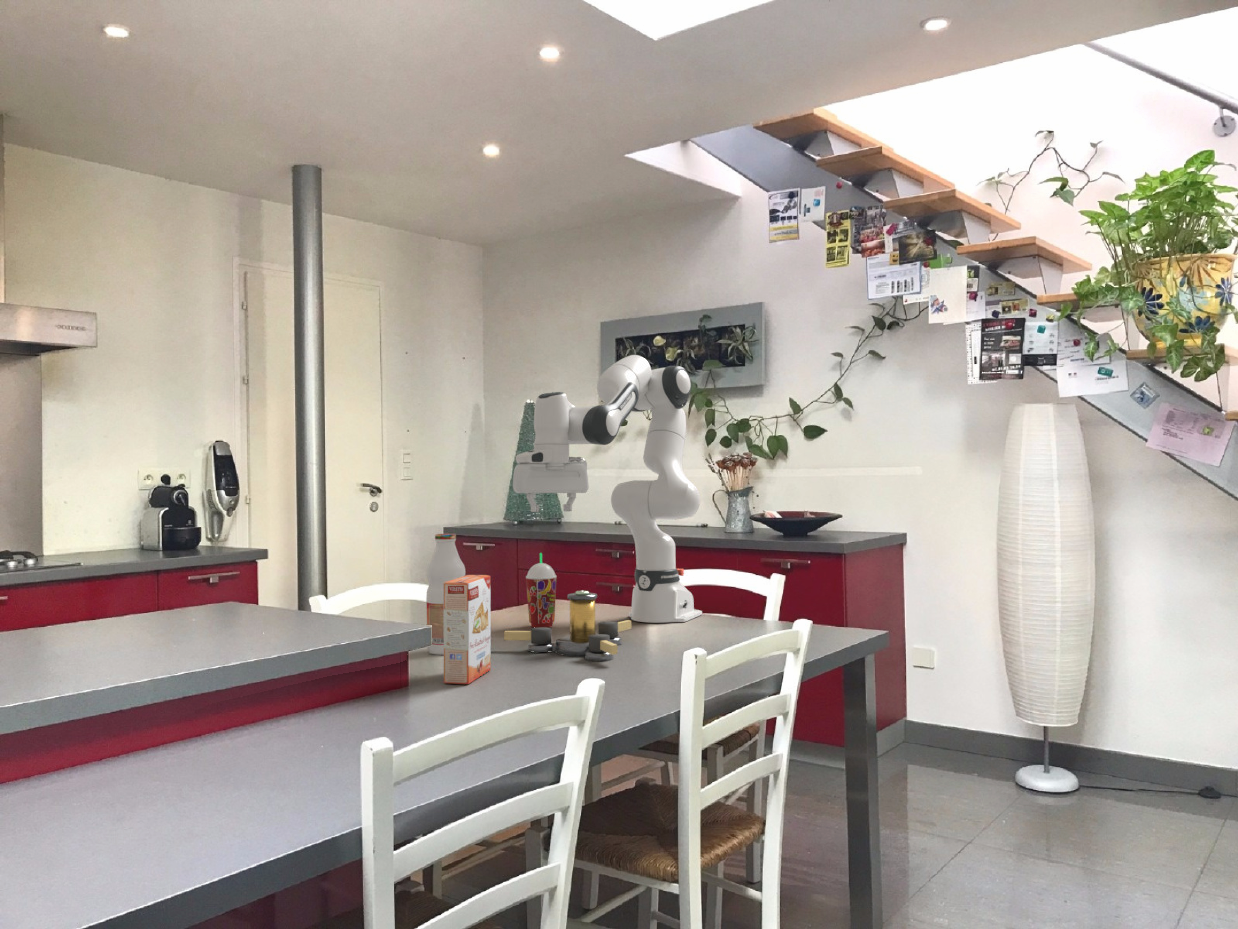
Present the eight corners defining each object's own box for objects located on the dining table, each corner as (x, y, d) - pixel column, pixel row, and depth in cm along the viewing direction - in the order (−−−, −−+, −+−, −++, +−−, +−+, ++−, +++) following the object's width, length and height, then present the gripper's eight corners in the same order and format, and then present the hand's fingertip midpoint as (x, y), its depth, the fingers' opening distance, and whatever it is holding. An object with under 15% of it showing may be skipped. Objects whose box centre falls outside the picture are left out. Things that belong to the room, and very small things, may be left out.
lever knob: (610, 638, 238) (610, 625, 238) (594, 636, 241) (594, 623, 241) (636, 631, 247) (636, 618, 247) (621, 629, 250) (621, 617, 250)
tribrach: (578, 637, 251) (577, 580, 251) (655, 646, 237) (655, 587, 237) (522, 651, 234) (521, 590, 234) (602, 662, 220) (601, 598, 220)
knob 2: (585, 649, 226) (585, 635, 226) (604, 647, 228) (604, 633, 228) (604, 658, 215) (604, 643, 215) (624, 656, 217) (624, 641, 217)
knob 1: (553, 640, 237) (552, 627, 237) (549, 644, 232) (549, 630, 232) (507, 640, 238) (507, 627, 238) (502, 644, 233) (502, 630, 233)
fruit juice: (439, 657, 228) (437, 536, 228) (420, 651, 236) (418, 534, 235) (474, 651, 234) (472, 534, 234) (454, 646, 242) (452, 531, 241)
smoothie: (556, 629, 263) (554, 554, 263) (524, 629, 263) (523, 554, 263) (558, 623, 272) (557, 551, 271) (528, 624, 272) (527, 551, 272)
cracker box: (470, 685, 200) (469, 582, 200) (442, 684, 201) (440, 582, 201) (493, 670, 213) (491, 574, 213) (466, 669, 215) (465, 573, 214)
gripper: (580, 457, 255) (580, 510, 255) (509, 456, 244) (509, 512, 244) (593, 456, 250) (593, 511, 250) (522, 455, 239) (522, 512, 238)
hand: (551, 511), depth 247 cm, fingers open, 8 cm apart
